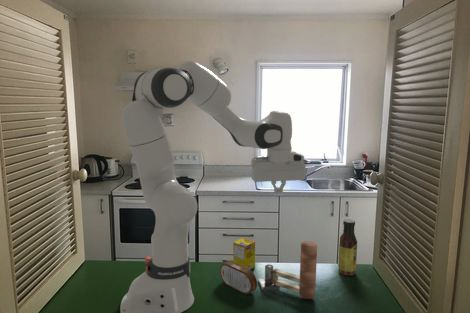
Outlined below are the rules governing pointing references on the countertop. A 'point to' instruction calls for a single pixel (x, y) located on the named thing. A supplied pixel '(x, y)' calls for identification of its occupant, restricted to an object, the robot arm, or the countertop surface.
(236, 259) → the supplement box
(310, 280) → the wooden dowel roller
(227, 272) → the tin
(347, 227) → the sauce bottle
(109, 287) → the countertop surface
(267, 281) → the hinge post
